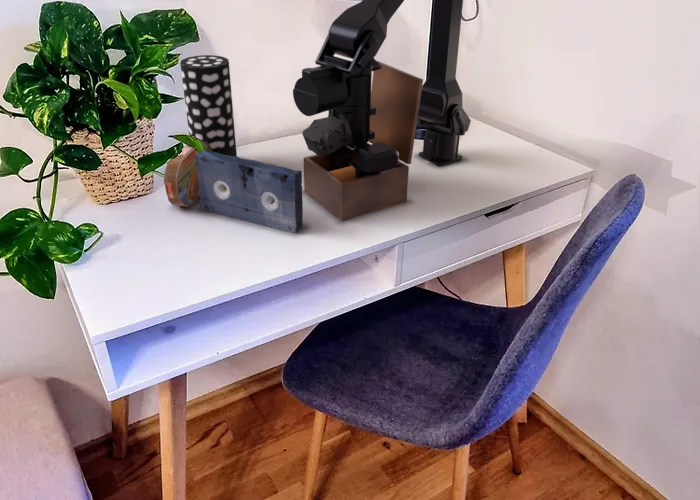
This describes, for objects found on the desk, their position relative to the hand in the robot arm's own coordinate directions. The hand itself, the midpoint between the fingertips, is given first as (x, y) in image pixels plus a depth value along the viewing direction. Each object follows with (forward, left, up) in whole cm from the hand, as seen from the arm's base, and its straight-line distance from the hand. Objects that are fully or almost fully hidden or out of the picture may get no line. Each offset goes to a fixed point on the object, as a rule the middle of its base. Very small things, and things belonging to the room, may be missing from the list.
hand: (351, 188), depth 108 cm
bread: (0, 0, -1) cm, 1 cm away
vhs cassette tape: (+18, -2, -2) cm, 18 cm away
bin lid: (-8, 0, +12) cm, 15 cm away
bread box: (-1, 0, -2) cm, 2 cm away
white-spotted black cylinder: (+15, -24, -2) cm, 29 cm away
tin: (+23, -15, -2) cm, 28 cm away
